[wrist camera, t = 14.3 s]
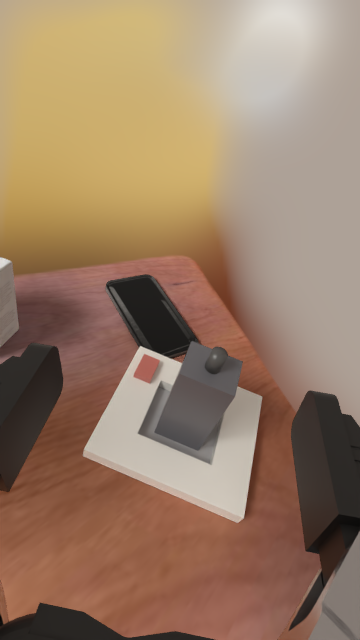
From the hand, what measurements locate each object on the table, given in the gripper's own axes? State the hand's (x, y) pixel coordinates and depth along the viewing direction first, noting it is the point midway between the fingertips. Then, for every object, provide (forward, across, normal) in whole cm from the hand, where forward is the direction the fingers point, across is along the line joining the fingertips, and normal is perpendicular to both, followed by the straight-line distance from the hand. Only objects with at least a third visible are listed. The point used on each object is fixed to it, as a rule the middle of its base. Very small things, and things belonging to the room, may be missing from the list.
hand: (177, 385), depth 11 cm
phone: (+30, +6, +22) cm, 38 cm away
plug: (+15, 0, +24) cm, 28 cm away
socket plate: (+15, 0, +24) cm, 28 cm away
